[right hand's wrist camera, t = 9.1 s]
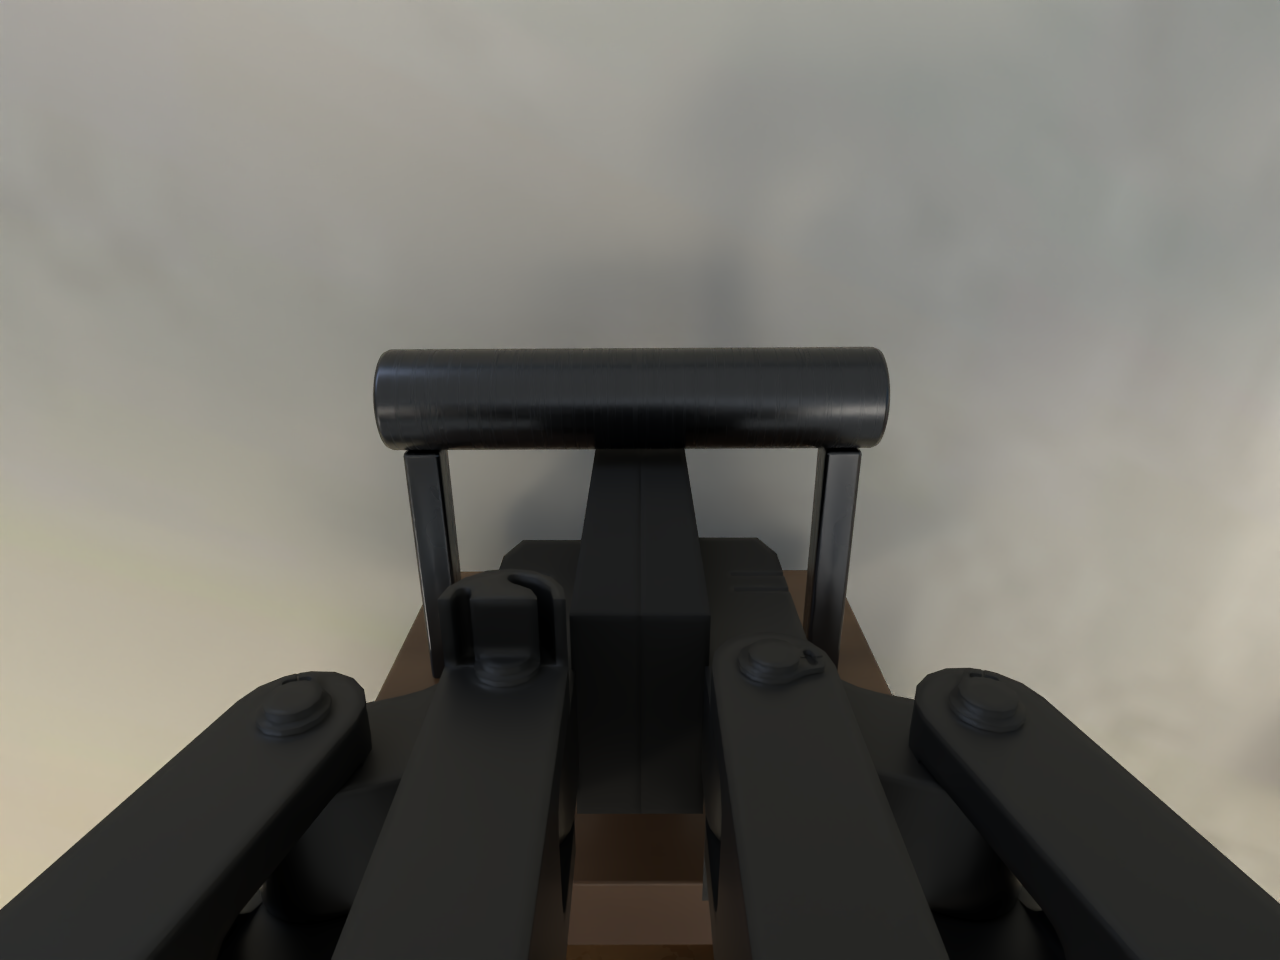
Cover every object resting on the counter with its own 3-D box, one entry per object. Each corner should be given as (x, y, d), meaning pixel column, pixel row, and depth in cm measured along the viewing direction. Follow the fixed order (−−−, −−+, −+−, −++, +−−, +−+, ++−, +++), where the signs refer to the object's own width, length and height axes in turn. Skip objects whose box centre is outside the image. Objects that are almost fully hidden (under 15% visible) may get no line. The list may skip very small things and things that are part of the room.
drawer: (406, 308, 16) (176, 454, 8) (860, 306, 16) (1077, 449, 8) (493, 1031, 24) (423, 1443, 16) (786, 1030, 24) (856, 1443, 16)
